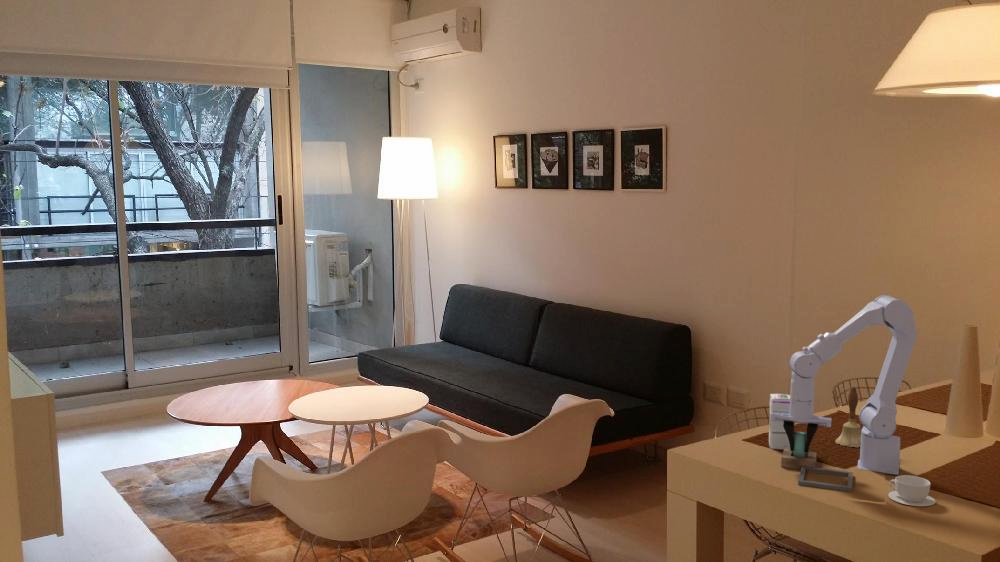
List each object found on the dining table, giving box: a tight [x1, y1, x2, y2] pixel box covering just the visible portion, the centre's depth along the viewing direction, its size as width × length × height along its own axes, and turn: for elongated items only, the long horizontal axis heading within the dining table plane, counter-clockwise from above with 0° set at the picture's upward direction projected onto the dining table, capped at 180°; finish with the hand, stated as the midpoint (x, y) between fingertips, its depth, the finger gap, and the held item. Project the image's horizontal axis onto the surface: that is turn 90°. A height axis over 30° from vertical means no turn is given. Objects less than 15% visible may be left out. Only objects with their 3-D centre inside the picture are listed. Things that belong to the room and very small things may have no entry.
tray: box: [797, 466, 854, 493], centre depth 216 cm, size 12×12×1 cm
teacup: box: [887, 474, 937, 507], centre depth 205 cm, size 10×10×5 cm
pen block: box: [780, 448, 818, 470], centre depth 228 cm, size 8×8×3 cm
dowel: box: [793, 431, 807, 458], centre depth 227 cm, size 3×3×8 cm
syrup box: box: [768, 393, 790, 450], centre depth 242 cm, size 6×6×14 cm
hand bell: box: [834, 386, 862, 449], centre depth 246 cm, size 8×8×16 cm
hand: (799, 450), depth 227 cm, fingers closed on dowel, 3 cm apart
